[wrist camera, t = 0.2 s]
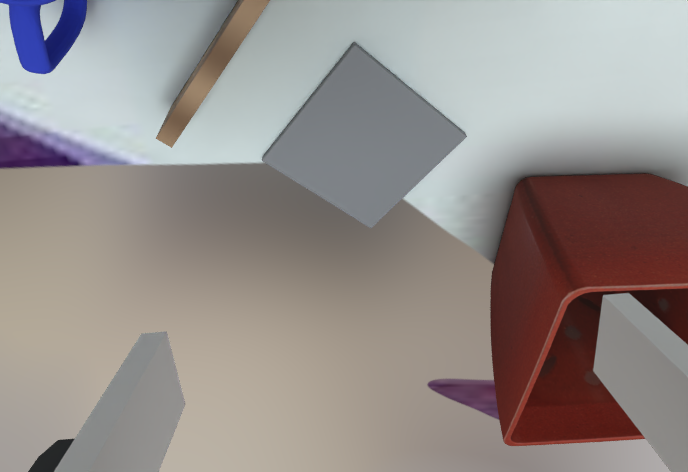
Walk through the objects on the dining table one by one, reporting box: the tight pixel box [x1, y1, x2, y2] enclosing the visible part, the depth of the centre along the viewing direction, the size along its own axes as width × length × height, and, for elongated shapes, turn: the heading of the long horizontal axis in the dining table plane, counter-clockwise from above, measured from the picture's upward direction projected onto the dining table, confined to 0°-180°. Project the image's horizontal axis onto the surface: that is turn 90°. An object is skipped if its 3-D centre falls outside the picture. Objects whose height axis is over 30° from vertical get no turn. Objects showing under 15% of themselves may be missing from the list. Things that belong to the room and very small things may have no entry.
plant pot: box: [491, 173, 688, 446], centre depth 42 cm, size 19×19×17 cm
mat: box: [262, 42, 467, 228], centre depth 41 cm, size 12×12×1 cm
